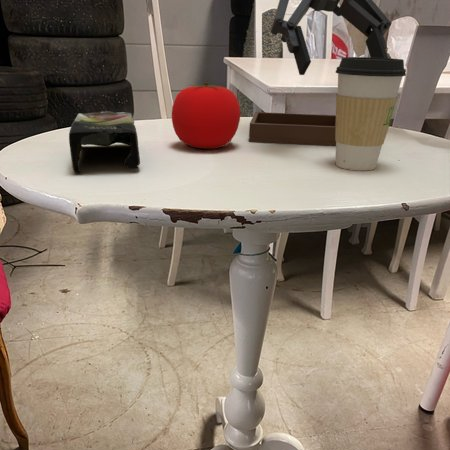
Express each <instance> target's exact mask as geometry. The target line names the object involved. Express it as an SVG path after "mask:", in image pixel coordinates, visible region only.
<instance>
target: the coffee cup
mask: <svg viewBox="0 0 450 450" xmlns="http://www.w3.org/2000/svg"><path fill="white" fill-rule="evenodd" d="M335 74H337V93H336V95H335V115H336V130H335V141H336V146H335V166H336V167H339V168H341V169H345V170H351V171H371V170H374V169H376V168H377V164H378V162H379V157H380V155H381V151H382V148H383V145H384V144H385V140H386V137H387V133H388V130H389V127H390V124H391V121H392V118H393V114H394V111H395V107H396V104H397V101H398V93H399V90H400V87H401V83H402V80H403V77H406V76H407V70H406V69H405V60H404V59H401V58H392V57H390V58H389V57H388V58H371V57H370V56H368V57H367V56H345V57H344V56H343V57H341V60H340V62H339V65H338V66H336V70H335Z"/></svg>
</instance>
